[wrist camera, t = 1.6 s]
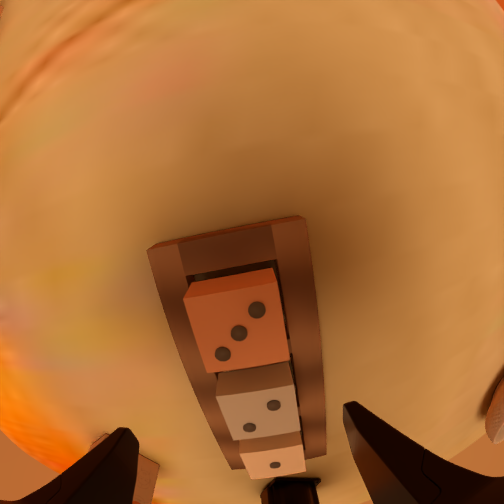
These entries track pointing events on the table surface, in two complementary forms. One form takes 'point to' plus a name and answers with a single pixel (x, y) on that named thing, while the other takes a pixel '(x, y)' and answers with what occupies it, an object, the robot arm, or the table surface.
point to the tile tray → (294, 304)
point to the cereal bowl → (496, 415)
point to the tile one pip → (273, 455)
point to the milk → (1, 10)
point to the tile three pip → (238, 321)
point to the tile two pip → (258, 401)
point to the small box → (141, 477)
